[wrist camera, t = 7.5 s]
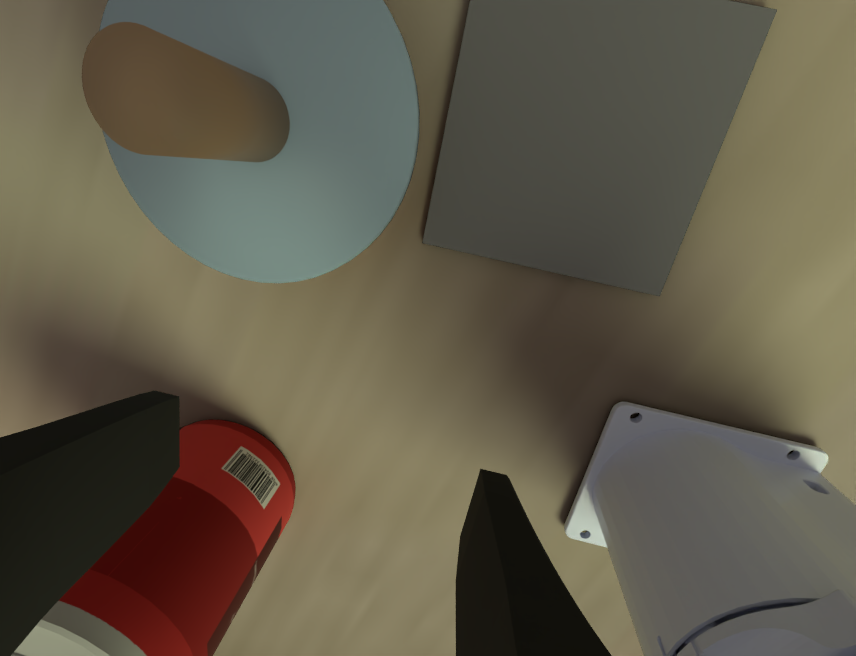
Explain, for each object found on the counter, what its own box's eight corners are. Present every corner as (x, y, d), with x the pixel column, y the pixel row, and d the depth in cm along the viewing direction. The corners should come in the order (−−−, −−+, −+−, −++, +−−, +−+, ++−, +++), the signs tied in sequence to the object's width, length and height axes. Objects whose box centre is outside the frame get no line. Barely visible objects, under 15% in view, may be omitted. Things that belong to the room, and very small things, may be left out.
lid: (454, -39, 13) (435, -194, 7) (386, 309, 16) (341, 371, 11) (101, -115, 13) (-157, -313, 8) (115, 242, 17) (-51, 271, 12)
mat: (769, 14, 14) (777, 9, 14) (655, 293, 18) (659, 296, 18) (479, -42, 15) (479, -48, 14) (423, 241, 18) (422, 243, 18)
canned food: (162, 400, 23) (-102, 583, 13) (306, 432, 22) (156, 650, 12) (167, 511, 25) (-47, 738, 15) (296, 542, 25) (166, 797, 15)
